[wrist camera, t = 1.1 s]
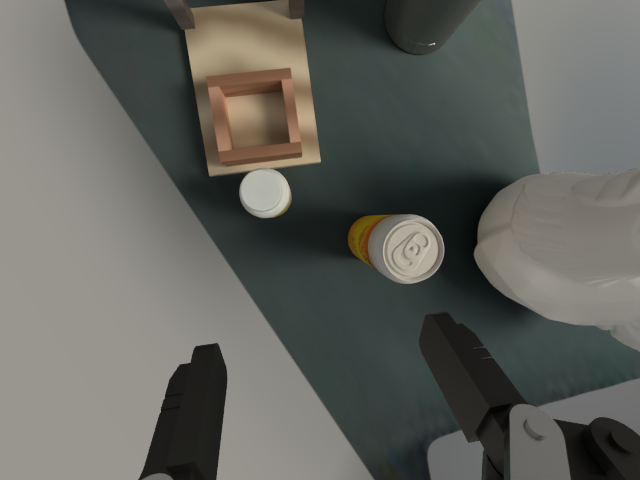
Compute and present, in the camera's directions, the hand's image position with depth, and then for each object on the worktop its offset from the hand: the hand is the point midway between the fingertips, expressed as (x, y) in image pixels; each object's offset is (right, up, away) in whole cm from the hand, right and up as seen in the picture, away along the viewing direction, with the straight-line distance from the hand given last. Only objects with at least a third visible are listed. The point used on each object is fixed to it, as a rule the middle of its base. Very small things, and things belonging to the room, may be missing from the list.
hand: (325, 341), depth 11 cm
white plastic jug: (+29, +1, +30) cm, 41 cm away
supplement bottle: (-7, +9, +26) cm, 29 cm away
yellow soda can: (+6, +4, +28) cm, 29 cm away
